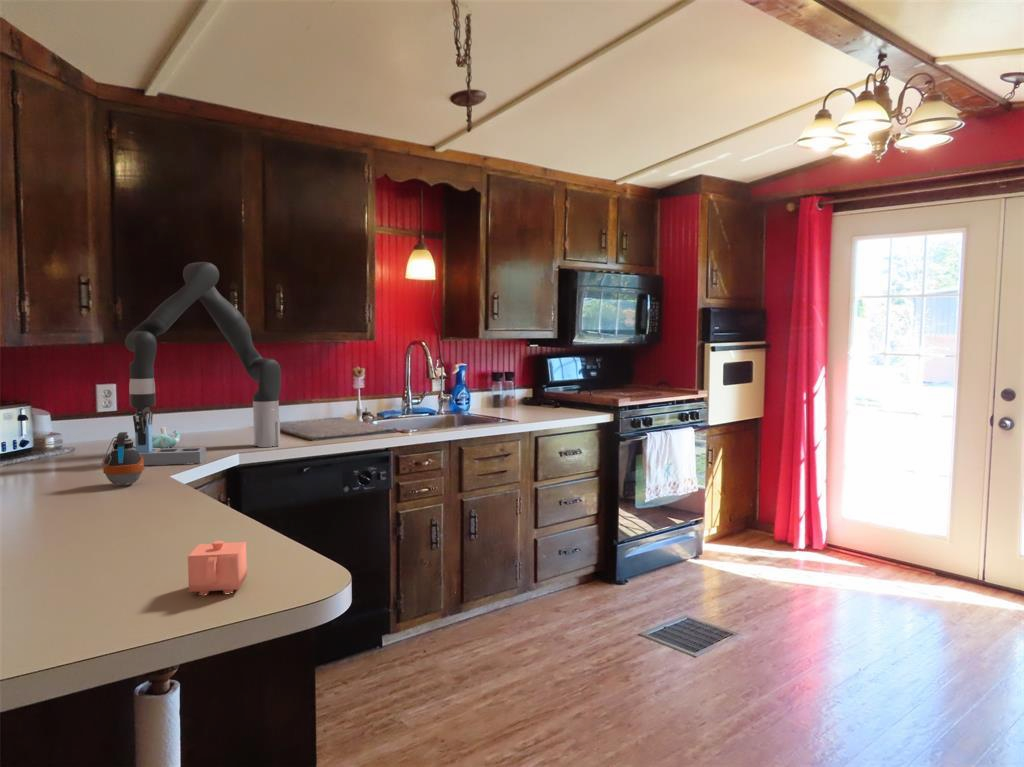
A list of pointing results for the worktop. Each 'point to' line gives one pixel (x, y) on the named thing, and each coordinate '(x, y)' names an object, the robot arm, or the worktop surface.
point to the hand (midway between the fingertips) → (144, 443)
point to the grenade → (123, 462)
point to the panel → (174, 456)
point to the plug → (148, 441)
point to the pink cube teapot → (217, 567)
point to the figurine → (165, 439)
